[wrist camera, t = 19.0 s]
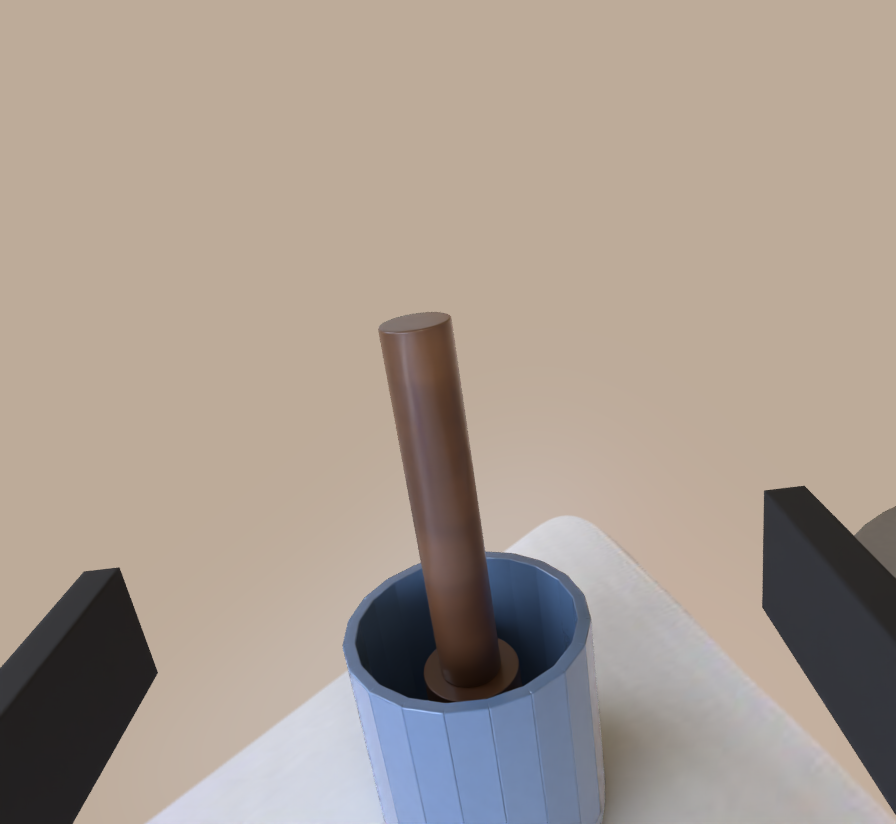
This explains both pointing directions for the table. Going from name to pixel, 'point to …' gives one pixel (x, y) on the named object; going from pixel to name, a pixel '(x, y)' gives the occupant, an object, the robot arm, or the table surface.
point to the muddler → (445, 510)
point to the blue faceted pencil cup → (482, 706)
